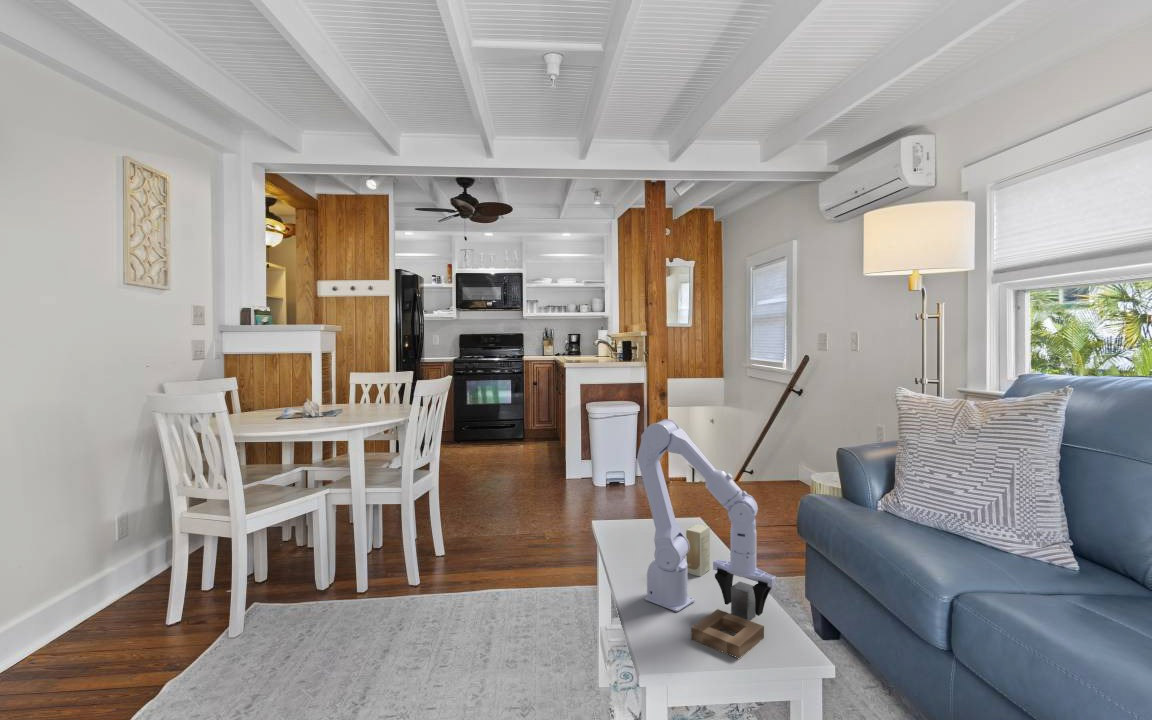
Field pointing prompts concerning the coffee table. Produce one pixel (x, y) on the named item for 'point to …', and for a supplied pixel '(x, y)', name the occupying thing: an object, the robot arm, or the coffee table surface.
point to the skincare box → (698, 549)
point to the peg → (743, 601)
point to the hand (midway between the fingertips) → (743, 608)
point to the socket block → (734, 645)
